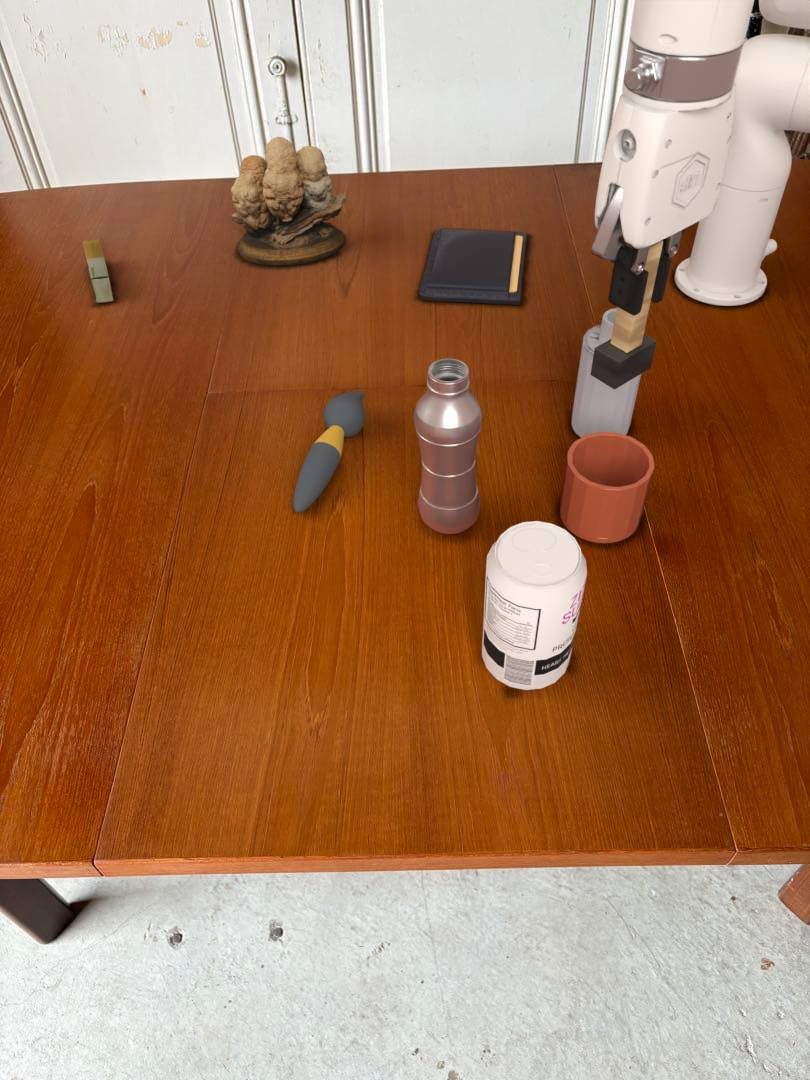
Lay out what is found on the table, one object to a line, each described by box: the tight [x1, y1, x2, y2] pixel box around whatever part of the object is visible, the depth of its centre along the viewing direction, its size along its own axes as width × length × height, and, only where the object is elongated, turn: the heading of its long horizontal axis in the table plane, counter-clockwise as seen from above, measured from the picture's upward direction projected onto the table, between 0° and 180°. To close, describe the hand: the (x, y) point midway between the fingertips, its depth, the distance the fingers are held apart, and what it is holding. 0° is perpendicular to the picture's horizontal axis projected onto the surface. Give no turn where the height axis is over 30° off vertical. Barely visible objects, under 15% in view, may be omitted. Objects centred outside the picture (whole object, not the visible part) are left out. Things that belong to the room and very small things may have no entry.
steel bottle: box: [571, 307, 642, 438], centre depth 92 cm, size 7×7×15 cm
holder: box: [559, 432, 655, 544], centre depth 85 cm, size 9×9×8 cm
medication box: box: [82, 239, 114, 304], centre depth 123 cm, size 12×3×4 cm, turn 21°
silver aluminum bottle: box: [413, 358, 483, 535], centre depth 81 cm, size 6×7×20 cm
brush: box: [590, 240, 663, 390], centre depth 71 cm, size 5×3×13 cm, turn 128°
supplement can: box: [481, 520, 588, 691], centre depth 71 cm, size 8×8×15 cm
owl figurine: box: [230, 136, 348, 267], centre depth 123 cm, size 18×12×17 cm, turn 96°
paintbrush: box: [292, 391, 367, 514], centre depth 94 cm, size 20×5×5 cm, turn 167°
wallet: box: [418, 227, 528, 306], centre depth 122 cm, size 20×2×15 cm
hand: (635, 300), depth 70 cm, fingers closed on brush, 2 cm apart
